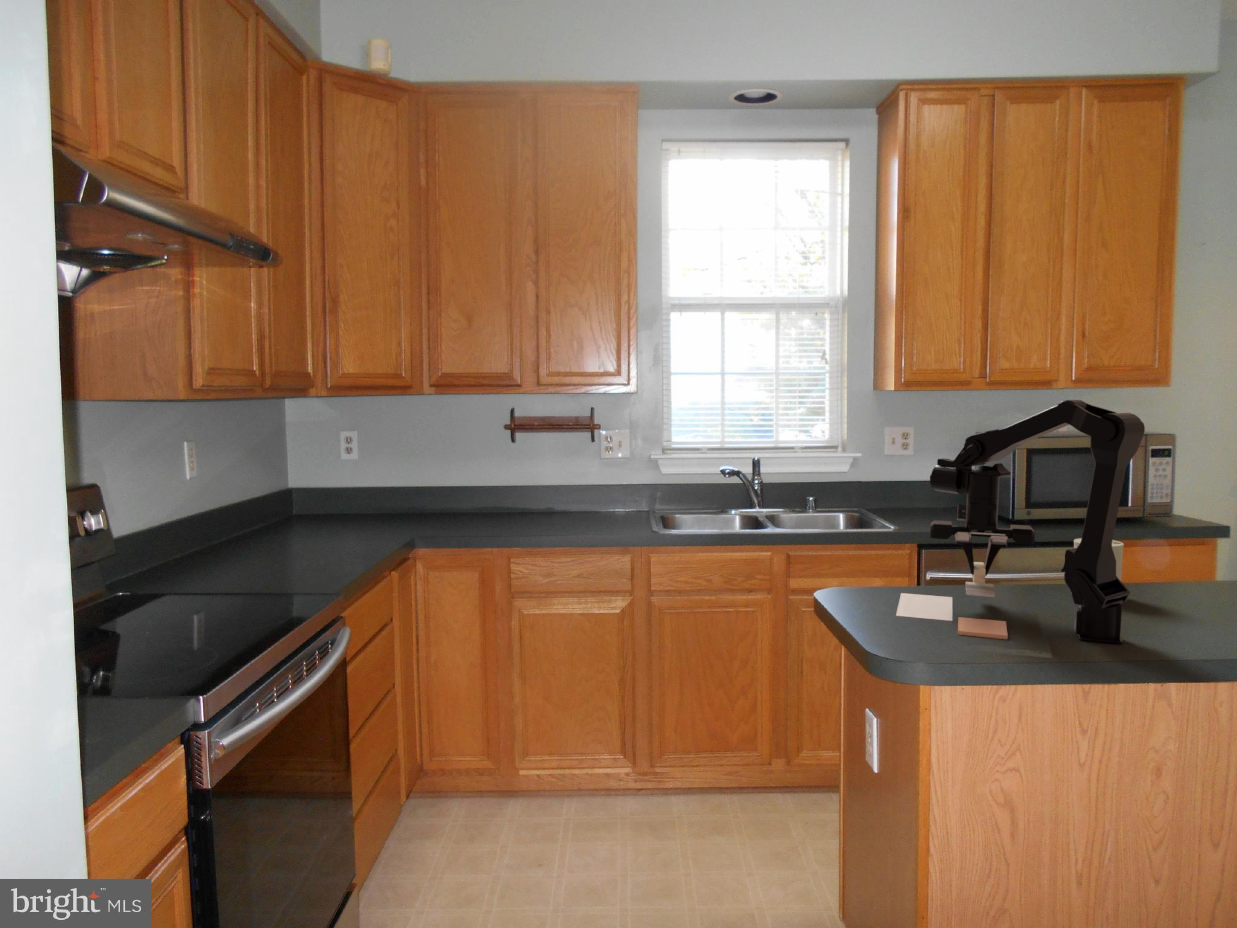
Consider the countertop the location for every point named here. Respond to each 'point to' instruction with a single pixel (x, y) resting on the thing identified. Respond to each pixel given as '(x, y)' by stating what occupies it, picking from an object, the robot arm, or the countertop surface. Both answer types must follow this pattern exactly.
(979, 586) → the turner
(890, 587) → the countertop surface
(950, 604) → the board
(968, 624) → the tile
